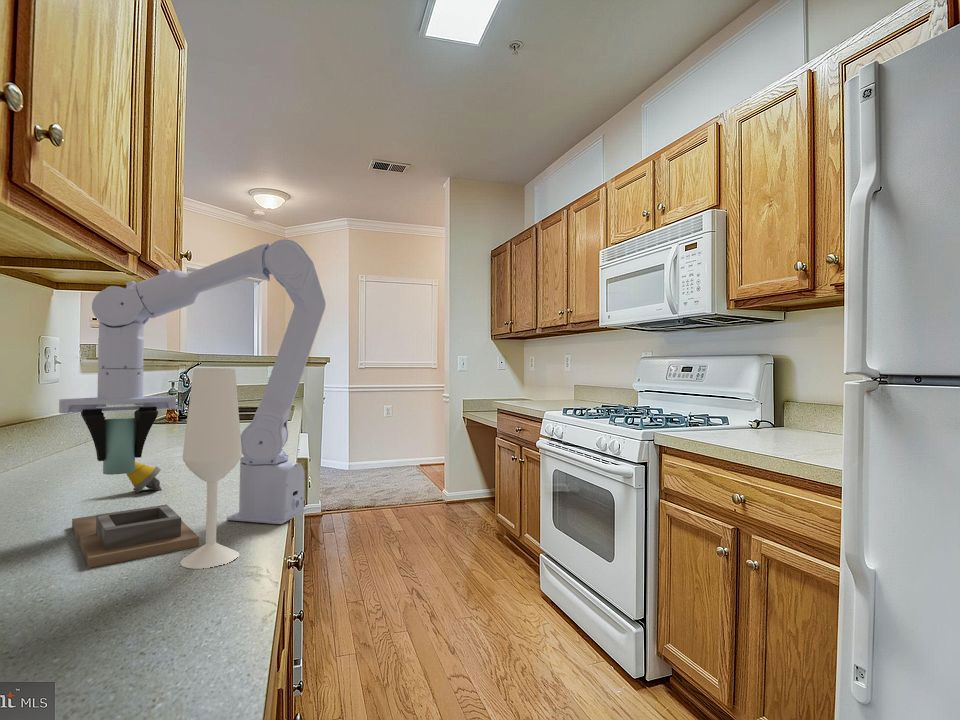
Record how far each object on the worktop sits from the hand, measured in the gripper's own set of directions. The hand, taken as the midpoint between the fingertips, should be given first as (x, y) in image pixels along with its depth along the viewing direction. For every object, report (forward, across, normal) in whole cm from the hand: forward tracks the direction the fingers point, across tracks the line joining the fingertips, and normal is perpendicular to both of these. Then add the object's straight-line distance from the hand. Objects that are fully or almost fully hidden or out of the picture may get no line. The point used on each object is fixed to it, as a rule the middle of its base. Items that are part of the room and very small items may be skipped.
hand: (119, 458), depth 80 cm
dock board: (+10, -1, +8) cm, 13 cm away
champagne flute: (+10, -7, +24) cm, 27 cm away
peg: (+2, 0, 0) cm, 2 cm away
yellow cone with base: (+10, -6, -19) cm, 22 cm away
